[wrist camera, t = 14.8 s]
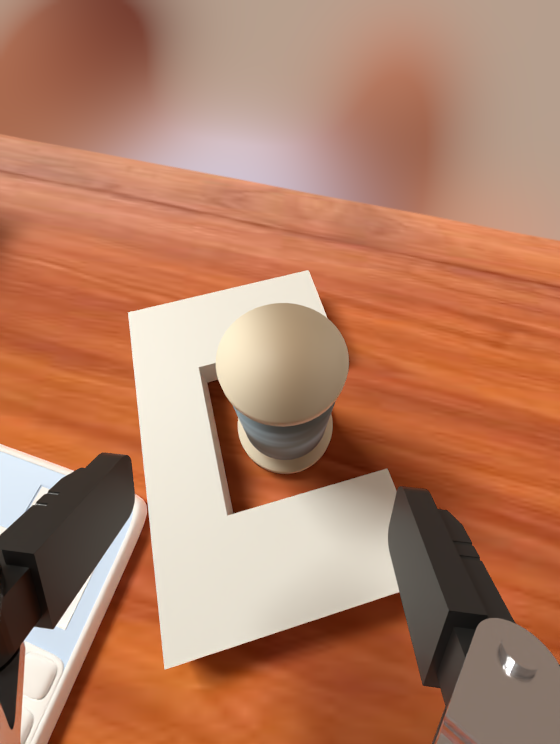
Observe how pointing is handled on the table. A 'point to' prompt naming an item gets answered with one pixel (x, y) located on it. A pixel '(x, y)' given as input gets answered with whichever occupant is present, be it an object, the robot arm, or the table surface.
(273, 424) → the disc
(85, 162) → the table surface
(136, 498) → the calculator
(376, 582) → the notched board
